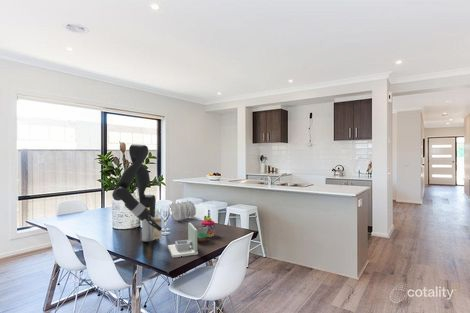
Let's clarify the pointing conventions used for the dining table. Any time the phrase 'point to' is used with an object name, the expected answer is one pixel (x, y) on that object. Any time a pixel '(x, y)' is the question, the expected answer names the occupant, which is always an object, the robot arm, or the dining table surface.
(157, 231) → the rail post
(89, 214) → the dining table surface
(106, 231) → the dining table surface
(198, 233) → the food container
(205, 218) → the cake
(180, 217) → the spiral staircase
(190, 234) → the cup bracket
